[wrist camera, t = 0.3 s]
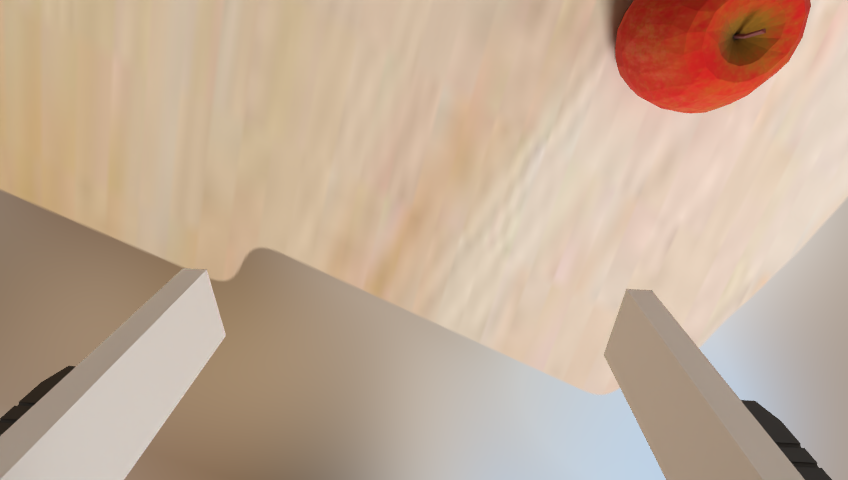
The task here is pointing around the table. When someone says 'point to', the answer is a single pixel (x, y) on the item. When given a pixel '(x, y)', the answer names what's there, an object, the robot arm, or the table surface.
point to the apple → (705, 48)
